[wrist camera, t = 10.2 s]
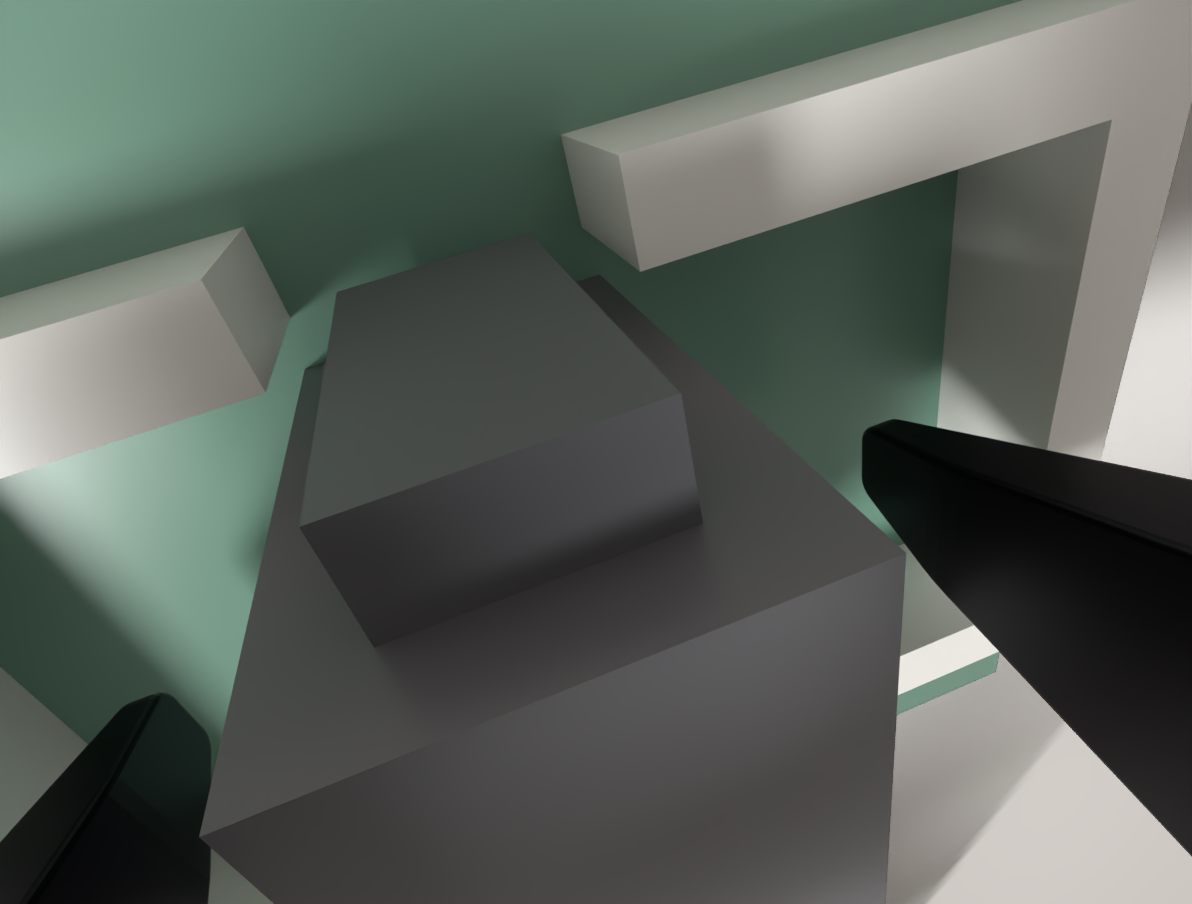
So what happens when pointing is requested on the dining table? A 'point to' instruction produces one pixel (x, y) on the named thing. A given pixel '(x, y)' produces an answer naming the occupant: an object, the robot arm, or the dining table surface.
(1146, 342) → the dining table surface
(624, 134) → the board
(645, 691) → the plug
